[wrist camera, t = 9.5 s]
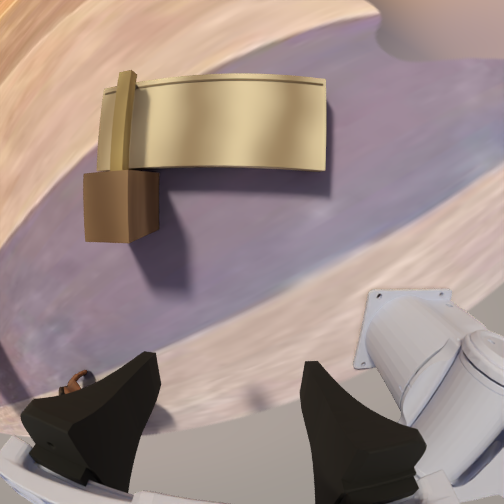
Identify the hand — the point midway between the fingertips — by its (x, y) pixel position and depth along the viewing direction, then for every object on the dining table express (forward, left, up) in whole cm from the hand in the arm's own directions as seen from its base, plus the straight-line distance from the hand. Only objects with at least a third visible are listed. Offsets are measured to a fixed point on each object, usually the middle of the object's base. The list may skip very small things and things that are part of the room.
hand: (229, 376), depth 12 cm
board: (+3, -13, -10) cm, 17 cm away
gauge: (+9, -11, -10) cm, 17 cm away
